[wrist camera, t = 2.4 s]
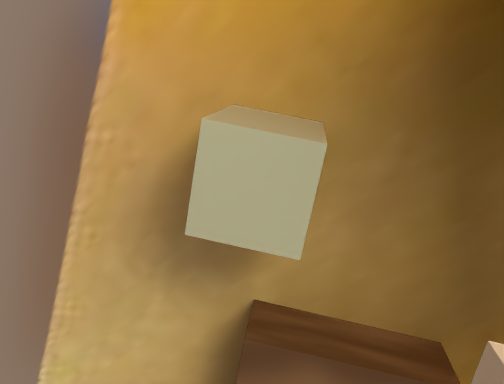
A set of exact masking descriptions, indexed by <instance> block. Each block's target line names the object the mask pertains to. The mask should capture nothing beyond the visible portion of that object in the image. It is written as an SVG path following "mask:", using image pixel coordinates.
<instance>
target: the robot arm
mask: <svg viewBox="0 0 504 384" xmlns="http://www.w3.org/2000/svg"><path fill="white" fill-rule="evenodd" d="M471 384H504V344H501V343H497V342H492V341H488V342H487V344H486V347H485V349H484V352H483V354H482V357H481V359H480V362H479V364H478V367H477V370H476V372H475V375H474V377H473V380H472V382H471Z"/></svg>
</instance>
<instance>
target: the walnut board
mask: <svg viewBox="0 0 504 384" xmlns="http://www.w3.org/2000/svg"><path fill="white" fill-rule="evenodd" d="M235 384H460V382H459V380H458V378H457V376H456V374H455V372H454V370H453V368H452V366H451V364H450V362H449V359H448V357H447V355H446V353H445V351H444V349H443V347H442V345H441V343H438V342H434V341H430V340H425V339H421V338H417V337H412V336H408V335H404V334H400V333H395V332H391V331H387V330H382V329H378V328H374V327H369V326H365V325H361V324H357V323H352V322H348V321H344V320H339V319H335V318H331V317H326V316H322V315H318V314H314V313H309V312H305V311H301V310H296V309H292V308H288V307H283V306H279V305H275V304H270V303H266V302H262V301H258V300H254V302H253V306H252V311H251V315H250V319H249V323H248V327H247V331H246V335H245V339H244V344H243V349H242V354H241V359H240V363H239V368H238V373H237V378H236V383H235Z"/></svg>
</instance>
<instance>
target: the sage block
mask: <svg viewBox="0 0 504 384" xmlns="http://www.w3.org/2000/svg"><path fill="white" fill-rule="evenodd" d="M327 145H328V143H327V139H326V135H325V131H324V127H323V123H322V122H320V121H315V120H310V119H305V118H300V117H295V116H290V115H285V114H280V113H275V112H270V111H265V110H260V109H254V108H249V107H244V106H239V105H231V106H229V107H227V108H224V109H222V110H220V111H218V112H215V113H213V114H211V115H208V116H206V117H204V118H202V120H201V127H200V134H199V140H198V147H197V154H196V161H195V168H194V174H193V181H192V188H191V195H190V201H189V208H188V215H187V222H186V229H185V235H188V236H193V237H197V238H202V239H206V240H211V241H215V242H220V243H224V244H229V245H233V246H237V247H242V248H246V249H251V250H255V251H260V252H264V253H269V254H273V255H278V256H282V257H287V258H291V259H296V260H300V259H301V255H302V250H303V246H304V242H305V238H306V233H307V229H308V225H309V221H310V217H311V212H312V208H313V204H314V200H315V195H316V191H317V187H318V183H319V179H320V174H321V170H322V166H323V162H324V157H325V153H326V149H327Z"/></svg>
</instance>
